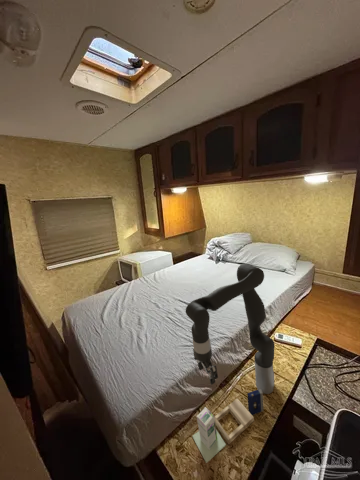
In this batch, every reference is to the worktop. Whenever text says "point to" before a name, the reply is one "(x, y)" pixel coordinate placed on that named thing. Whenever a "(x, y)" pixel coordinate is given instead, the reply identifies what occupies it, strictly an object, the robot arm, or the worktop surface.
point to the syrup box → (207, 428)
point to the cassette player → (255, 401)
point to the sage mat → (214, 449)
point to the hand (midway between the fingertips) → (206, 375)
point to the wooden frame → (239, 414)
